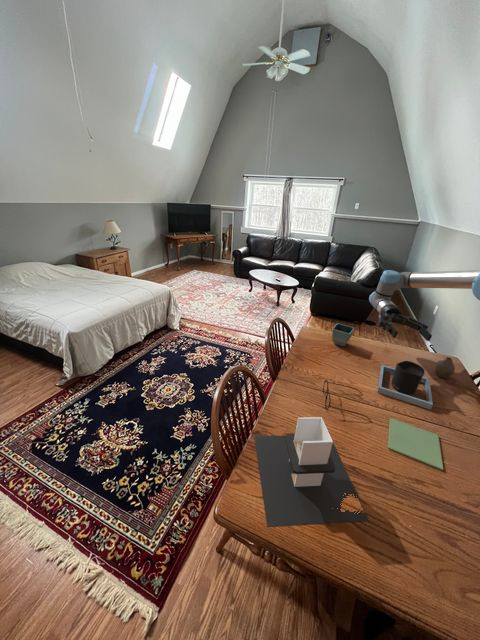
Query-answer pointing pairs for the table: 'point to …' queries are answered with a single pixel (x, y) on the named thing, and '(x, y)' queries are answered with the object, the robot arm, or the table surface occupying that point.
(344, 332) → the flower pot
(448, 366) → the vase
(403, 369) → the pen holder
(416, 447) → the mat
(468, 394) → the table surface
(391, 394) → the gray square frame
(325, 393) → the glasses
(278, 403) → the table surface
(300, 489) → the hopper stand
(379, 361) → the table surface
